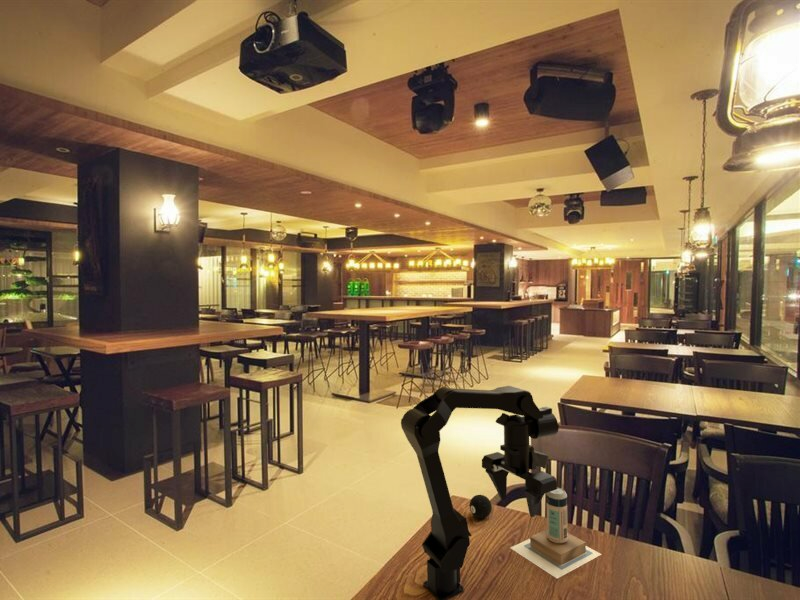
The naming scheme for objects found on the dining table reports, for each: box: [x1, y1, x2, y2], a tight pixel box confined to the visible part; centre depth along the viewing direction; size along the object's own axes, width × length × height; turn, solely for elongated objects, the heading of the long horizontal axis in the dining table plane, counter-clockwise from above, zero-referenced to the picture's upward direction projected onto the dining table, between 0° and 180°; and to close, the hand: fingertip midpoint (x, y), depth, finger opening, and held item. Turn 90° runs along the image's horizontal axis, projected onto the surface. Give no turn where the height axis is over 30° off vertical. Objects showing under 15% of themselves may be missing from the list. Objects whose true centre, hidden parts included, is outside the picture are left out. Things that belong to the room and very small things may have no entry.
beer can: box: [545, 486, 568, 544], centre depth 107 cm, size 5×5×12 cm
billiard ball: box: [469, 494, 493, 519], centre depth 125 cm, size 6×6×6 cm
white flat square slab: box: [509, 538, 602, 579], centre depth 107 cm, size 16×14×1 cm
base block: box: [529, 528, 587, 565], centre depth 108 cm, size 9×9×2 cm
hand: (517, 508), depth 104 cm, fingers open, 9 cm apart
